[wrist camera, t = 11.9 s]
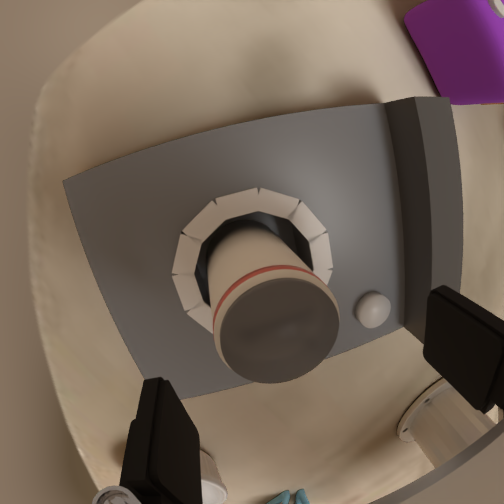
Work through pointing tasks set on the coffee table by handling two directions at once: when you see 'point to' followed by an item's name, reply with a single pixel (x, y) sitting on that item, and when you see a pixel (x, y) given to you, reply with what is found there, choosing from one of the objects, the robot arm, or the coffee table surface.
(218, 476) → the ramekin
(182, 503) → the robot arm
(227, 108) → the coffee table surface
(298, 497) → the chair
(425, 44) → the toy camera
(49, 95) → the coffee table surface
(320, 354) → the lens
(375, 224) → the camera body
